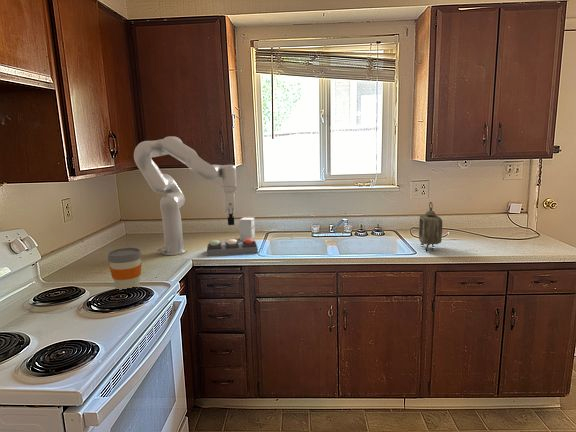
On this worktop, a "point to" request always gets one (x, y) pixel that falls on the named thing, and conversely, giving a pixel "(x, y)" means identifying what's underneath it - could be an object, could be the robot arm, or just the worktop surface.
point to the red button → (249, 241)
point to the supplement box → (247, 228)
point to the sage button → (214, 243)
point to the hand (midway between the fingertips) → (231, 223)
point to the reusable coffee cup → (125, 267)
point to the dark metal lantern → (430, 228)
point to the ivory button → (232, 242)
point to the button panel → (232, 249)
